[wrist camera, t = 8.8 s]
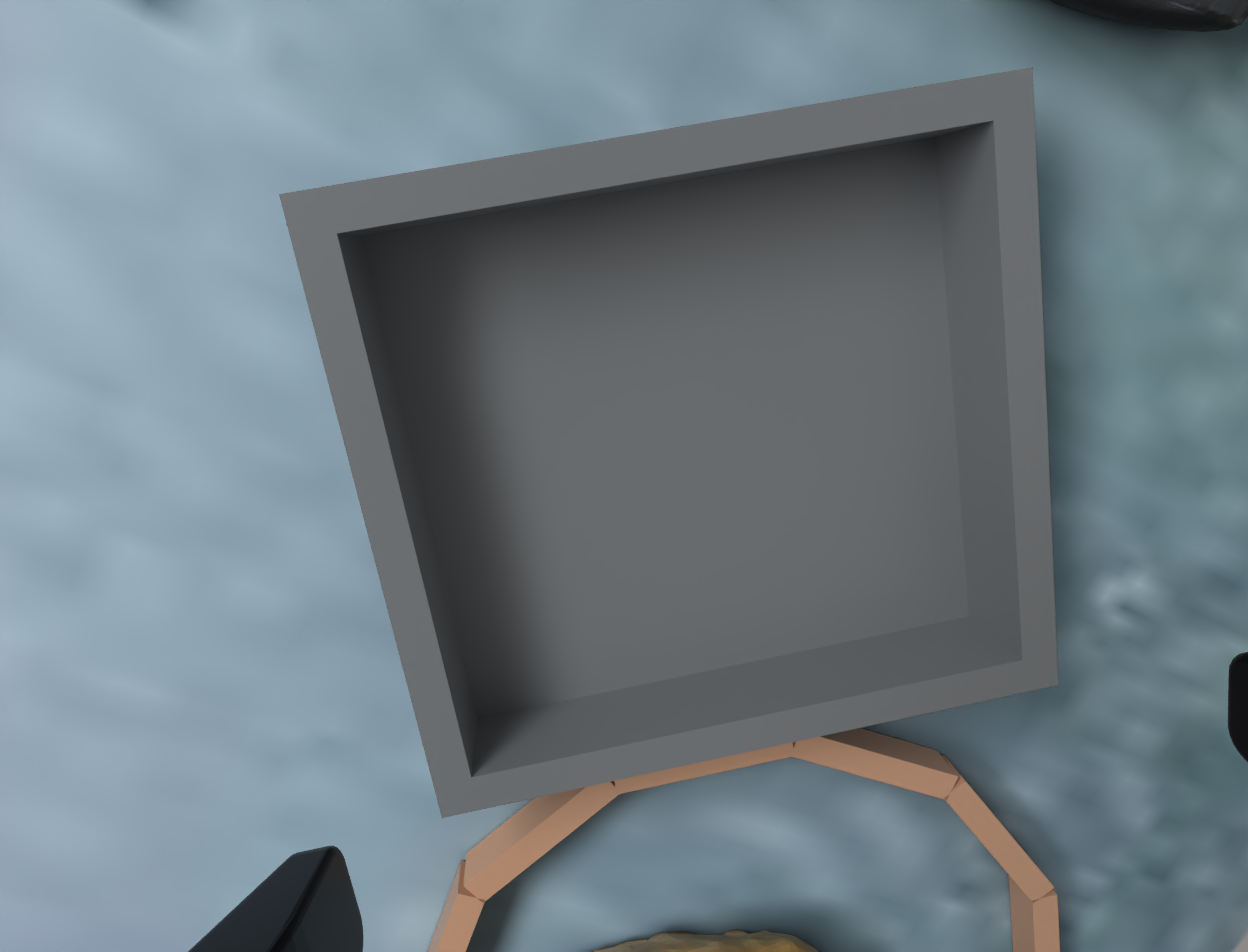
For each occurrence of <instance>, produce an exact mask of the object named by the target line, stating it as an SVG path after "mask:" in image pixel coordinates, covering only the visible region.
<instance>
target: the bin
mask: <svg viewBox="0 0 1248 952" xmlns="http://www.w3.org/2000/svg"><path fill="white" fill-rule="evenodd" d="M279 195H280V199H281V203H282V207H283V211H284V215H285V218H286V222H287V226H288V230H289V234H290V238H291V241H292V245H293V249H294V253H295V257H296V260H297V264H298V268H299V272H300V276H301V280H302V283H303V287H304V291H305V295H306V299H307V303H308V306H309V310H310V314H311V318H312V322H313V326H314V329H315V333H316V337H317V341H318V345H319V349H320V352H321V356H322V360H323V364H324V368H325V372H326V375H327V379H328V383H329V387H330V391H331V394H332V398H333V402H334V406H335V410H336V414H337V417H338V421H339V425H340V429H341V433H342V437H343V440H344V444H345V448H346V452H347V456H348V460H349V463H350V467H351V471H352V475H353V479H354V483H355V486H356V490H357V494H358V498H359V502H360V506H361V509H362V513H363V517H364V521H365V525H366V528H367V532H368V536H369V540H370V544H371V548H372V551H373V555H374V559H375V563H376V567H377V571H378V574H379V578H380V582H381V586H382V590H383V594H384V597H385V601H386V605H387V609H388V613H389V617H390V620H391V624H392V628H393V632H394V636H395V640H396V643H397V647H398V651H399V655H400V659H401V663H402V666H403V670H404V674H405V678H406V682H407V685H408V689H409V693H410V697H411V701H412V705H413V708H414V712H415V716H416V720H417V724H418V728H419V731H420V735H421V739H422V743H423V747H424V751H425V754H426V758H427V762H428V766H429V770H430V774H431V777H432V781H433V785H434V789H435V793H436V797H437V800H438V804H439V808H440V812H441V816H442V818H444V817H448V816H453V815H458V814H462V813H467V812H472V811H476V810H481V809H486V808H490V807H495V806H500V805H504V804H509V803H513V802H518V801H523V800H527V799H532V798H537V797H541V796H546V795H551V794H555V793H560V792H564V791H569V790H574V789H578V788H583V787H588V786H592V785H597V784H602V783H606V782H611V781H616V780H620V779H625V778H629V777H634V776H639V775H643V774H648V773H653V772H657V771H662V770H667V769H671V768H676V767H681V766H685V765H690V764H694V763H699V762H704V761H708V760H713V759H718V758H722V757H727V756H732V755H736V754H741V753H746V752H750V751H755V750H759V749H764V748H769V747H773V746H778V745H783V744H787V743H792V742H797V741H801V740H806V739H810V738H815V737H820V736H824V735H829V734H834V733H838V732H843V731H848V730H852V729H857V728H862V727H866V726H871V725H875V724H880V723H885V722H889V721H894V720H899V719H903V718H908V717H913V716H917V715H922V714H927V713H931V712H936V711H940V710H945V709H950V708H954V707H959V706H964V705H968V704H973V703H978V702H982V701H987V700H991V699H996V698H1001V697H1005V696H1010V695H1015V694H1019V693H1024V692H1029V691H1033V690H1038V689H1043V688H1047V687H1052V686H1056V685H1058V665H1057V641H1056V617H1055V593H1054V569H1053V545H1052V521H1051V497H1050V473H1049V449H1048V425H1047V400H1046V376H1045V352H1044V328H1043V304H1042V280H1041V256H1040V232H1039V208H1038V184H1037V160H1036V136H1035V112H1034V88H1033V67H1032V68H1026V69H1020V70H1015V71H1009V72H1003V73H997V74H991V75H985V76H979V77H973V78H967V79H961V80H955V81H949V82H943V83H937V84H931V85H926V86H920V87H914V88H908V89H902V90H896V91H890V92H884V93H878V94H872V95H866V96H860V97H854V98H848V99H842V100H837V101H831V102H825V103H819V104H813V105H807V106H801V107H795V108H789V109H783V110H777V111H771V112H765V113H759V114H753V115H748V116H742V117H736V118H730V119H724V120H718V121H712V122H706V123H700V124H694V125H688V126H682V127H676V128H670V129H664V130H659V131H653V132H647V133H641V134H635V135H629V136H623V137H617V138H611V139H605V140H599V141H593V142H587V143H581V144H575V145H570V146H564V147H558V148H552V149H546V150H540V151H534V152H528V153H522V154H516V155H510V156H504V157H498V158H492V159H486V160H481V161H475V162H469V163H463V164H457V165H451V166H445V167H439V168H433V169H427V170H421V171H415V172H409V173H403V174H397V175H392V176H386V177H380V178H374V179H368V180H362V181H356V182H350V183H344V184H338V185H332V186H326V187H320V188H314V189H308V190H303V191H297V192H291V193H285V194H279Z"/></svg>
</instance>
